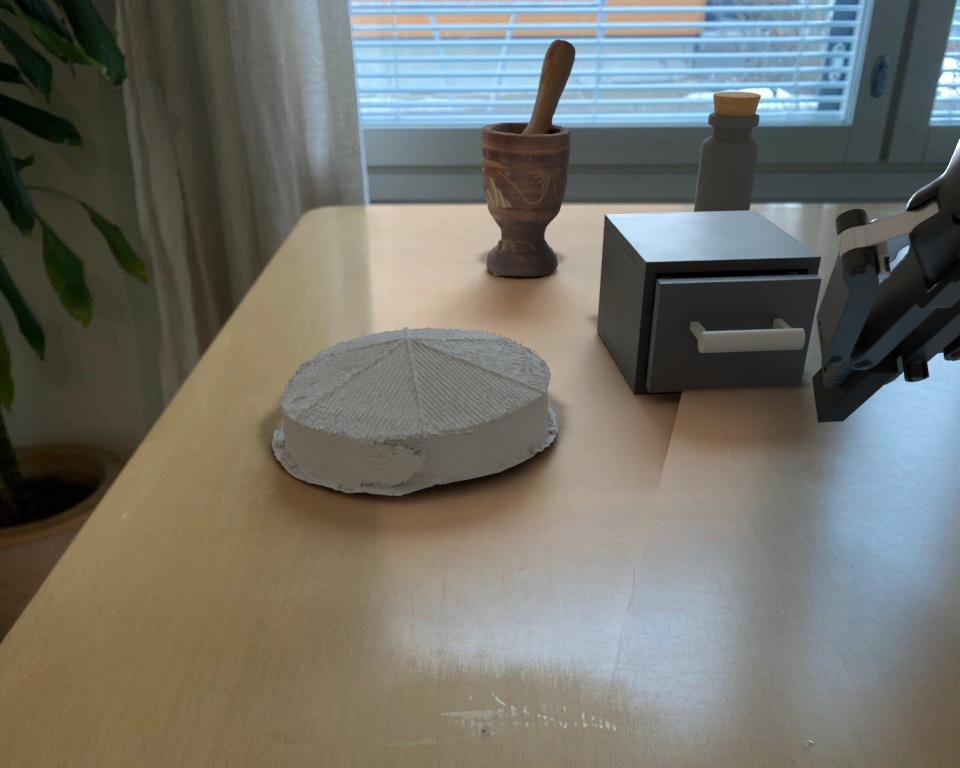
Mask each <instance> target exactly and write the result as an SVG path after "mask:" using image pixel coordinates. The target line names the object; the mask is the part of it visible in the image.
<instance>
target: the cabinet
mask: <svg viewBox="0 0 960 768" xmlns="http://www.w3.org/2000/svg"><path fill="white" fill-rule="evenodd" d="M603 224H604V225H603V235H602V248H601V249H602V251H601V264H600V281H599V294H598V310H597V324H596V325H597V326H596V327H597V328H596V331H597V333H598V335H599V337H600V338H601V340H602V342H603V343H604V345H605V347H606V349H607V351H608V352H609V354H610V355H611V357H612V359H613V360H614V362H615V363H616V365H617V367H618V369H619V371H620V372H621V374H622V376H623V378H624V379H625V381H626V383H627V384H628V386H629V388H630V389H631V391H632V393H633V394H634V395H641V394H650V393H649V391H648V389H647V388H646V380H647V358H648V348H649V338H650V328H651V318H652V308H653V298H654V288H655V278H656V274H655V273H686V272H719V271H751V270H784V269H795V270H796V271H797V272H798V275H805V274H816V275H817V276H818V277H819V271H820V266H821V262H822V261H821V260H822V256H821V255H819V254H818V253H817V252H815V251H813V250H812V249H811V248H809V247H808V246H806V245H805V244H804V243H802V242H801V241H799V240H798V239H796V238H795V237H794V236H792V235H791V234H789V233H788V232H786V231H785V230H783V229H782V228H781V227H779V226H778V225H776V224H775V223H774V222H772V221H771V220H769V219H768V218H766V217H765V216H764V215H762V214H761V213H759V212H758V211H757V210H755V209H750V210H748V211H709V212H694V211H675V212H671V211H669V212H637V213H636V212H635V213H634V212H633V213H604V219H603ZM663 393H664V394H666V393H667V394H668V393H670V392H657V393H656V394H663Z"/></svg>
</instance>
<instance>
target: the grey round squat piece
mask: <svg viewBox="0 0 960 768" xmlns="http://www.w3.org/2000/svg"><path fill="white" fill-rule="evenodd" d="M516 341H517V340H515V339H511V338H509V337H506V336H503V335H502V334H500V333H498V334H497V333H493V332H491V331H490V332H489V331H488V330H487V331H485V330H481V331H480V330H476V329H473V330H472V329H471V330H469V329H464V328H462V329H459V328H458V329H457V328H456V327H455V328H446V327H442V328H439V327H438V328H437V327H435V328H433V327H425V328H409V327H407V326H405V327H403V328H401V329H395V330H386V331H380V332H374V333H370V334H368V335H366V334H365V335H363V336H360V337H359V336H358V337H354V338H351V339H349V340H344V341H343V340H342V341H341V342H337V343H336V344H334V345H332V346H330V345H329V347H327V348H323V349H321V350H318V351H316V352H315V355H313V356H311V357H310V358H307V359H305V361H304V362H301V363H300V364H299V366H298V368H296V369H295V371H293V374H292V375H291V377H290V378H288V379H287V380H285V382H286V381H287V384H286V386H285V387H284V388H283V389H282V391H283V392H282V393H283V394H282V395H280V397H279V400H278V407H279V411H280V412H282V417H283V424H282V426H281V427H280V428H281V429H280V428H279V429H278V430H277V429H275V430H274V432H273V437H272V440H271V448H272V452H274V457H275V458H276V460H277V461H279V462H280V464H281V466H282V468H283V467H284V469H285V470H286V472H287V473H288V474H290V475H291V476H292V477H294V478H296V479H298V480H301V481H303V482H305V483H308V484H315V485H318V486H323V487H326V488H328V489H329V488H330V489H333V490H335V491H340V492H343V493H346V494H355V493H362V494H364V493H367V494H372V495H379V496H380V495H383V496H389V497H391V496H395V497H402V496H403V495H407V494H411V493H414V492H417V491H420V490H423V489H428V488H430V487H431V488H432V487H433V486H435V485H440V486H442V485H447V484H450V483H455V482H456V483H457V482H461V481H466V480H472V479H476V478H481V477H485V476H489V475H495V474H497V473H501V472H504V471H505V470H508V469H510V468H512V467H515V466H518V465H519V464H521V463H523V462H526V461H527V460H529V459H531V458H533V457H534V456H535V455H536V454H537V453H538V452H543V451H544V450H545V448H547V447H550V446H551V443H553V442H554V440H555V438H556V437H557V434H558V431H559V430H558V429H559V426H558V423H559V420H558V416H557V414H556V413H555V412H554V410H553V409H552V408H551V407H550V406H548V401H549V396H548V393H549V392H548V388H549V386H550V385H549V384H550V381H551V376H552V373H551V369H550V367H549V365H548V362H547V361H546V360H545V359H543V358H542V357H541V356H540V355H539V354H537V353H536V350H534V349H532V348H531V347H529V346H525V345H523V344H524V343H523V342H516Z"/></svg>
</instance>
